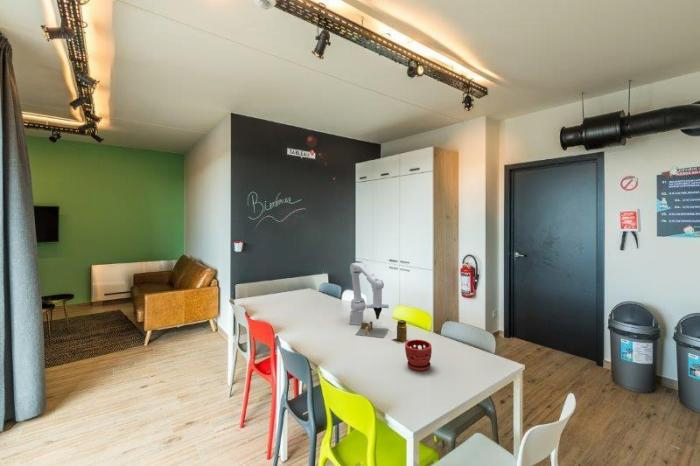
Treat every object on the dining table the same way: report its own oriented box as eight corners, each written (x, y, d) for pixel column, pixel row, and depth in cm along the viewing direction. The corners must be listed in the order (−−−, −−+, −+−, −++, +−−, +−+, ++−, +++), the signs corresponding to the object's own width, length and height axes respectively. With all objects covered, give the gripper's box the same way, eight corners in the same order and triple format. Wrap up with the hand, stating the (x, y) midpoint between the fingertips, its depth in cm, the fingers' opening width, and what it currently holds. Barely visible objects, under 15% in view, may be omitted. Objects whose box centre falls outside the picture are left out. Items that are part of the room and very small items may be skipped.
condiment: (409, 340, 199) (409, 321, 198) (399, 343, 194) (399, 324, 194) (401, 337, 205) (401, 318, 204) (391, 340, 200) (391, 321, 200)
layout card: (355, 335, 209) (355, 334, 209) (362, 326, 225) (362, 326, 225) (383, 338, 203) (383, 337, 203) (388, 329, 219) (388, 328, 219)
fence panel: (369, 329, 217) (369, 324, 217) (371, 329, 217) (371, 324, 217) (365, 334, 209) (365, 328, 209) (366, 334, 209) (366, 328, 208)
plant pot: (412, 359, 173) (412, 337, 173) (435, 366, 165) (435, 343, 164) (400, 367, 163) (400, 344, 162) (424, 375, 155) (424, 351, 154)
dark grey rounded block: (360, 328, 220) (360, 321, 219) (361, 328, 222) (361, 320, 221) (372, 330, 217) (372, 322, 217) (372, 329, 219) (372, 321, 219)
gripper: (367, 300, 208) (367, 321, 209) (389, 300, 208) (389, 320, 209) (366, 297, 215) (366, 317, 216) (387, 297, 215) (387, 317, 216)
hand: (377, 318), depth 213 cm, fingers closed
